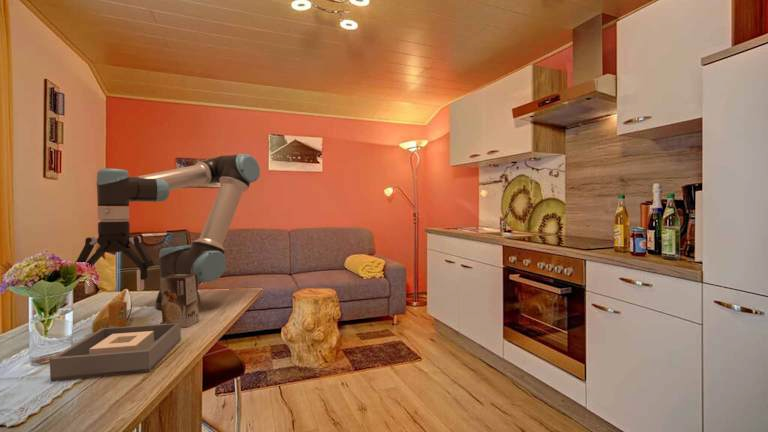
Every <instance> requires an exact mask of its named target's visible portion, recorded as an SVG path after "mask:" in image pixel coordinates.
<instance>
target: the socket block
mask: <svg viewBox="0 0 768 432" xmlns="http://www.w3.org/2000/svg"><path fill="white" fill-rule="evenodd" d="M153 343H154V331H146V332H132V333H118V334H112V335H110V336H108V337H107V338H105V339H104V340H102V341H101V342H99V343H98V344H96V345H95V346H93V347H92V348H90V349H89V354H101V353H114V352H126V351H138V350H147V349H148V348H149V347H150V346H151V345H152V344H153Z"/></svg>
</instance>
